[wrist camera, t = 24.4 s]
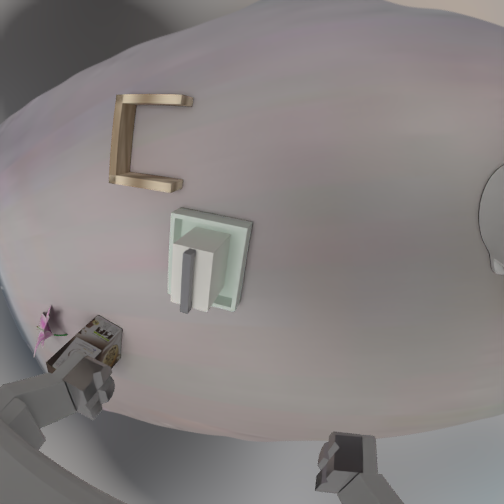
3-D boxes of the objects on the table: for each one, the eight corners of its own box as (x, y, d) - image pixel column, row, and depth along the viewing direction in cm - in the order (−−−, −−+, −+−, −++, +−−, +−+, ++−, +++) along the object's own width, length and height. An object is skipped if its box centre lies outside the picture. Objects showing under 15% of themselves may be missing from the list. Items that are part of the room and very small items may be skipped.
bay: (193, 97, 35) (182, 94, 32) (182, 188, 40) (170, 192, 37) (130, 96, 36) (116, 94, 33) (122, 179, 41) (108, 182, 38)
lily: (72, 305, 55) (32, 308, 47) (78, 358, 55) (40, 365, 47) (56, 301, 62) (22, 303, 54) (61, 348, 61) (28, 352, 53)
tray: (252, 222, 39) (247, 228, 37) (239, 301, 44) (234, 312, 41) (180, 207, 41) (171, 212, 38) (176, 284, 45) (167, 293, 43)
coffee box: (97, 313, 52) (44, 361, 38) (123, 328, 52) (73, 382, 37) (96, 344, 56) (52, 391, 41) (121, 359, 56) (78, 410, 41)
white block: (230, 234, 40) (208, 258, 32) (223, 286, 43) (202, 319, 35) (195, 226, 41) (166, 248, 33) (191, 278, 44) (165, 307, 36)
